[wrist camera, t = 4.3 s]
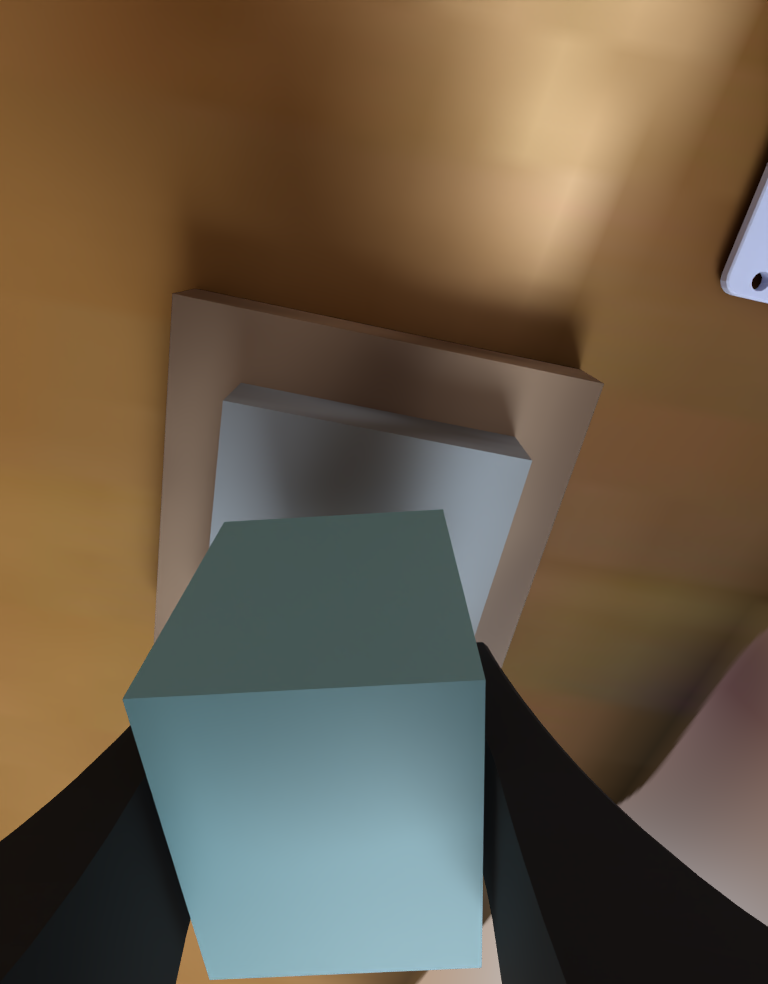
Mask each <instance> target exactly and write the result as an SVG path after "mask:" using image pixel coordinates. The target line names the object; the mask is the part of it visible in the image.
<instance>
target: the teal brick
mask: <svg viewBox="0 0 768 984" xmlns="http://www.w3.org/2000/svg"><path fill="white" fill-rule="evenodd" d="M485 683H486V680H485V676H484V672H483V668H482V664H481V660H480V656H479V652H478V648H477V644H476V640H475V636H474V632H473V628H472V624H471V620H470V616H469V612H468V608H467V604H466V600H465V596H464V592H463V588H462V584H461V580H460V576H459V572H458V568H457V564H456V560H455V556H454V552H453V548H452V544H451V540H450V536H449V531H448V527H447V523H446V519H445V515H444V511H443V509H440V510H422V511H405V512H387V513H370V514H353V515H335V516H318V517H300V518H283V519H266V520H248V521H231V522H224V523H223V525H222V527H221V528H220V530H219V532H218V534H217V535H216V537H215V539H214V541H213V542H212V544H211V546H210V548H209V549H208V551H207V553H206V554H205V556H204V558H203V560H202V561H201V563H200V565H199V567H198V568H197V570H196V572H195V574H194V575H193V577H192V579H191V581H190V582H189V584H188V586H187V588H186V589H185V591H184V593H183V595H182V596H181V598H180V600H179V602H178V603H177V605H176V607H175V609H174V610H173V612H172V614H171V616H170V617H169V619H168V621H167V622H166V624H165V626H164V628H163V629H162V631H161V633H160V635H159V636H158V638H157V640H156V642H155V643H154V645H153V647H152V649H151V650H150V652H149V654H148V656H147V657H146V659H145V661H144V663H143V664H142V666H141V668H140V670H139V671H138V673H137V675H136V677H135V678H134V680H133V682H132V684H131V685H130V687H129V689H128V690H127V692H126V694H125V696H124V697H123V702H124V706H125V709H126V712H127V715H128V718H129V722H130V725H131V728H132V731H133V734H134V738H135V741H136V744H137V747H138V751H139V754H140V757H141V760H142V763H143V767H144V770H145V773H146V776H147V780H148V783H149V786H150V789H151V792H152V796H153V799H154V802H155V805H156V809H157V812H158V815H159V818H160V821H161V825H162V828H163V831H164V834H165V838H166V841H167V844H168V847H169V850H170V854H171V857H172V860H173V863H174V866H175V870H176V873H177V876H178V879H179V883H180V886H181V889H182V892H183V895H184V899H185V902H186V905H187V908H188V912H189V915H190V918H191V921H192V924H193V928H194V931H195V934H196V937H197V941H198V944H199V947H200V950H201V953H202V957H203V960H204V963H205V966H206V970H207V973H208V976H209V979H210V980H216V979H238V978H261V977H283V976H305V975H327V974H350V973H372V972H394V971H417V970H438V969H460V968H481V966H482V898H483V827H484V755H485Z"/></svg>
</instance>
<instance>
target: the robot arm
mask: <svg viewBox="0 0 768 984" xmlns="http://www.w3.org/2000/svg"><path fill="white" fill-rule="evenodd" d="M758 273H761V276H762V281H761V284H760V285H759V286H758V287H757V288H756V289H753V287H752V279H753V278H754V277H755V275H756V274H758ZM720 282H721V287H722V289H723V290H724V292H725V293H727V294H729V295H733V296H737V297H742V298H746V299H750V300H755V301H759V302H763V303H768V163H767V166H766V168H765V170H764V173H763V175H762V178H761V180H760V182H759V185H758V187H757V190H756V192H755V195H754V197H753V199H752V202H751V204H750V207H749V209H748V212H747V214H746V216H745V219H744V221H743V224H742V226H741V229H740V231H739V233H738V236H737V238H736V241H735V243H734V246H733V248H732V250H731V253H730V255H729V258H728V260H727V262H726V265H725V267H724V270H723V272H722V275H721V280H720ZM476 644H477V648H478V652H479V656H480V660H481V664H482V668H483V672H484V676H485V680H486V683H485V755H484V827H483V876H484V880H485V885H486V889H487V894H488V899H489V904H490V909H491V914H492V919H493V926H494V932H495V939H496V946H497V953H498V959H499V966H500V973H501V980H502V984H768V926H766V925H765V924H763V923H762V922H760V921H759V920H757V919H756V918H754V917H753V916H752V915H750V914H748V913H747V912H746V911H744V910H743V909H741V908H740V907H739V906H737V905H736V904H735V903H733V902H732V901H731V900H729V899H728V898H727V897H725V896H724V895H723V894H722V893H720V892H719V891H718V890H716V889H715V888H714V887H712V886H711V885H710V884H708V883H707V882H706V881H704V880H703V879H702V878H700V877H699V876H698V875H697V874H696V873H694V872H693V871H692V870H691V869H690V868H689V867H687V866H686V865H685V864H684V863H682V862H681V861H680V860H679V859H678V858H676V857H675V856H674V855H673V854H672V853H671V852H669V851H668V850H667V849H666V848H665V847H663V846H662V845H661V844H660V843H659V842H657V841H656V840H655V839H654V838H653V837H651V836H650V835H649V834H648V833H647V832H646V831H644V830H643V829H642V828H641V827H640V826H639V825H638V824H637V823H636V822H634V821H633V820H632V819H631V818H630V817H629V816H628V815H627V814H626V813H625V812H624V811H623V810H622V809H621V808H619V807H618V806H617V805H616V804H615V803H614V802H613V801H612V800H611V799H610V798H609V797H608V796H607V795H606V794H605V793H604V792H603V791H602V790H601V789H600V788H599V787H598V786H597V785H596V784H595V783H594V782H593V781H592V780H591V779H590V778H589V777H588V776H587V775H586V774H585V773H584V772H583V771H582V770H581V768H580V767H579V766H578V765H577V764H576V763H575V762H574V761H573V760H572V759H571V758H570V756H569V755H568V754H567V753H566V752H565V751H564V750H563V748H562V747H561V746H560V745H559V744H558V743H557V742H556V740H555V739H554V738H553V737H552V736H551V734H550V733H549V732H548V731H547V730H546V728H545V727H544V726H543V725H542V724H541V722H540V721H539V720H538V718H537V717H536V716H535V715H534V713H533V712H532V711H531V709H530V708H529V707H528V706H527V704H526V703H525V702H524V700H523V699H522V698H521V696H520V695H519V694H518V692H517V691H516V690H515V688H514V687H513V685H512V684H511V682H510V681H509V679H508V678H507V677H506V675H505V674H504V672H503V671H502V669H501V668H500V666H499V664H498V663H497V661H496V660H495V658H494V656H493V655H492V653H491V651H490V650H489V648H488V646H487V645H485V644H484V643H483V642H476ZM190 919H191V918H190V915H189V912H188V908H187V905H186V902H185V899H184V895H183V892H182V889H181V886H180V883H179V879H178V876H177V873H176V870H175V866H174V863H173V860H172V857H171V854H170V850H169V847H168V844H167V841H166V838H165V834H164V831H163V828H162V825H161V821H160V818H159V815H158V812H157V809H156V805H155V802H154V799H153V796H152V792H151V789H150V786H149V783H148V780H147V776H146V773H145V770H144V767H143V763H142V760H141V757H140V754H139V751H138V747H137V744H136V741H135V738H134V734H133V731H132V728H131V725H130V726H129V727H128V728H127V729H126V730H125V731H124V732H123V733H122V734H121V736H120V737H119V738H118V739H117V740H116V741H115V742H114V743H112V744H111V745H110V746H109V747H108V748H107V749H106V750H105V751H104V752H103V753H102V754H101V755H100V756H99V757H98V758H97V759H96V760H95V761H94V762H93V763H92V764H91V765H89V766H88V767H87V768H86V769H85V770H84V771H83V772H82V773H81V774H80V775H79V776H78V777H77V778H76V779H75V780H74V781H72V782H71V783H70V784H69V785H68V786H67V787H66V788H65V789H64V790H62V791H61V792H60V793H59V794H58V795H57V796H55V797H54V798H53V799H52V800H51V801H50V802H49V803H47V804H46V805H45V806H44V807H42V808H41V809H40V810H39V811H38V812H36V813H35V814H34V815H33V816H32V817H30V818H29V819H28V820H27V821H26V822H24V823H23V824H22V825H21V826H20V827H18V828H17V829H16V830H14V831H13V832H12V833H11V834H9V835H8V836H7V837H6V838H4V839H3V840H1V841H0V984H176V980H177V975H178V971H179V966H180V961H181V957H182V952H183V948H184V943H185V938H186V934H187V930H188V926H189V923H190Z"/></svg>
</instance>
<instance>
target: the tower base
mask: <svg viewBox="0 0 768 984" xmlns="http://www.w3.org/2000/svg"><path fill="white" fill-rule="evenodd" d="M603 385H604V383H602V382H600V381H599V380H597V379H595V378H594V377H592V376H590V375H589V374H587V373H585V372H584V371H582V370H580V369H575V368H571V367H566V366H561V365H556V364H552V363H547V362H542V361H537V360H533V359H528V358H523V357H518V356H514V355H509V354H504V353H499V352H494V351H490V350H485V349H480V348H475V347H471V346H466V345H461V344H456V343H452V342H447V341H442V340H437V339H433V338H428V337H423V336H418V335H414V334H409V333H404V332H399V331H395V330H390V329H385V328H380V327H376V326H371V325H366V324H361V323H357V322H352V321H347V320H342V319H338V318H333V317H328V316H323V315H319V314H314V313H309V312H304V311H300V310H295V309H290V308H285V307H281V306H276V305H271V304H266V303H262V302H257V301H252V300H247V299H243V298H238V297H233V296H228V295H224V294H219V293H214V292H209V291H205V290H200V289H191V290H186V291H182V292H178V293H173V295H172V313H171V332H170V351H169V370H168V389H167V407H166V426H165V445H164V464H163V482H162V501H161V520H160V539H159V558H158V576H157V595H156V614H155V633H154V643H155V642H156V640H157V638H158V636H159V635H160V633H161V631H162V629H163V628H164V626H165V624H166V622H167V621H168V619H169V617H170V616H171V614H172V612H173V610H174V609H175V607H176V605H177V603H178V602H179V600H180V598H181V596H182V595H183V593H184V591H185V589H186V588H187V586H188V584H189V582H190V581H191V579H192V577H193V575H194V574H195V572H196V570H197V568H198V567H199V565H200V563H201V561H202V560H203V558H204V556H205V554H206V553H207V551H208V549H209V548H210V546H211V544H212V542H213V541H214V539H215V537H216V535H217V534H218V532H219V530H220V528H221V527H222V525H223V523H224V522H231V521H248V520H266V519H283V518H300V517H318V516H335V515H353V514H370V513H387V512H405V511H422V510H440V509H443V511H444V515H445V519H446V523H447V527H448V531H449V536H450V540H451V544H452V548H453V552H454V556H455V560H456V564H457V568H458V572H459V576H460V580H461V584H462V588H463V592H464V596H465V600H466V604H467V608H468V612H469V616H470V620H471V624H472V628H473V632H474V636H475V640H476V642H483V643H484V644H485V645H487V646H488V648H489V650H490V651H491V653H492V655H493V656H494V658H495V660H496V661H497V663H498V664H499V666H500V668H501V667H502V665H503V662H504V659H505V656H506V654H507V651H508V648H509V645H510V643H511V640H512V637H513V634H514V631H515V629H516V626H517V623H518V620H519V618H520V615H521V612H522V609H523V607H524V604H525V601H526V598H527V595H528V593H529V590H530V587H531V584H532V582H533V579H534V576H535V573H536V571H537V568H538V565H539V562H540V560H541V557H542V554H543V551H544V548H545V546H546V543H547V540H548V537H549V535H550V532H551V529H552V526H553V524H554V521H555V518H556V515H557V512H558V510H559V507H560V504H561V501H562V499H563V496H564V493H565V490H566V488H567V485H568V482H569V479H570V477H571V474H572V471H573V468H574V465H575V463H576V460H577V457H578V454H579V452H580V449H581V446H582V443H583V441H584V438H585V435H586V432H587V429H588V427H589V424H590V421H591V418H592V416H593V413H594V410H595V407H596V405H597V402H598V399H599V396H600V393H601V391H602V388H603Z"/></svg>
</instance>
